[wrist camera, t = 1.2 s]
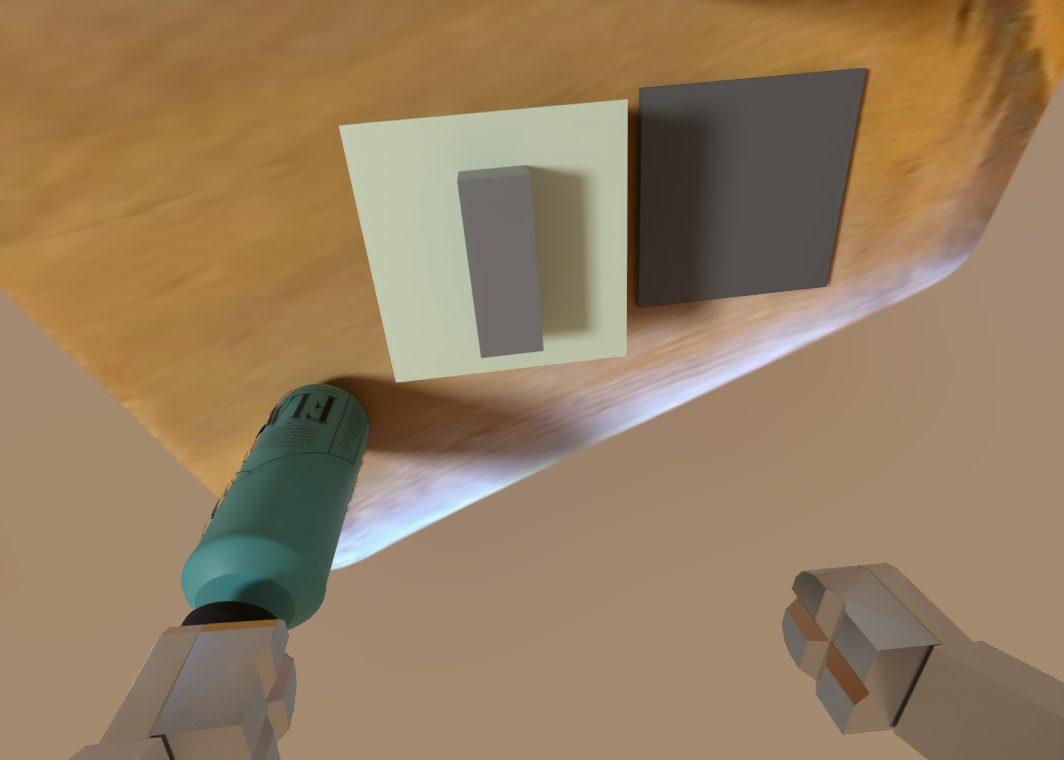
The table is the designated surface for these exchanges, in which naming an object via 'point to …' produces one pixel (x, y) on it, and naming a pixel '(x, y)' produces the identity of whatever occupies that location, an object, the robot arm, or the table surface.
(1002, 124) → the table surface
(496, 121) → the lid
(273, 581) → the beverage bottle
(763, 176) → the rubber mat
